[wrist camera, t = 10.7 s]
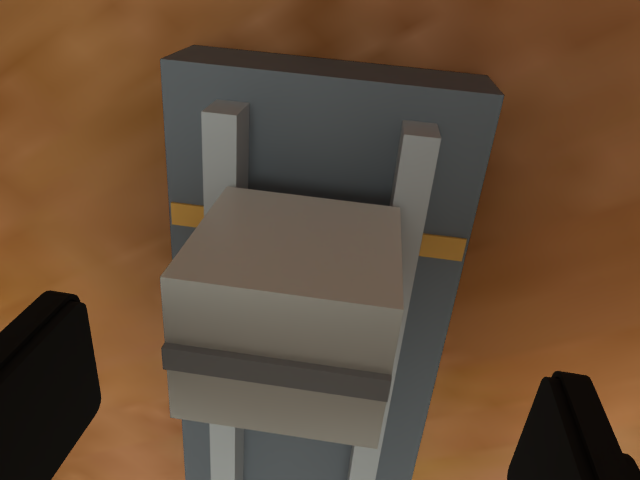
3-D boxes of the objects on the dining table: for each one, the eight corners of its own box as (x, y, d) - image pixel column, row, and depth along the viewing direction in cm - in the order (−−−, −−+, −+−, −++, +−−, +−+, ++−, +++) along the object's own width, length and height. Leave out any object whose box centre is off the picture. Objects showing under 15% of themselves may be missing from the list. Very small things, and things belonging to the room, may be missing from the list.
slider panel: (487, 75, 18) (515, 108, 14) (381, 548, 30) (380, 638, 26) (193, 45, 18) (138, 67, 14) (208, 520, 30) (181, 603, 27)
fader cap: (399, 187, 16) (403, 315, 10) (382, 295, 18) (377, 456, 12) (240, 168, 17) (156, 282, 11) (238, 276, 18) (167, 424, 13)
